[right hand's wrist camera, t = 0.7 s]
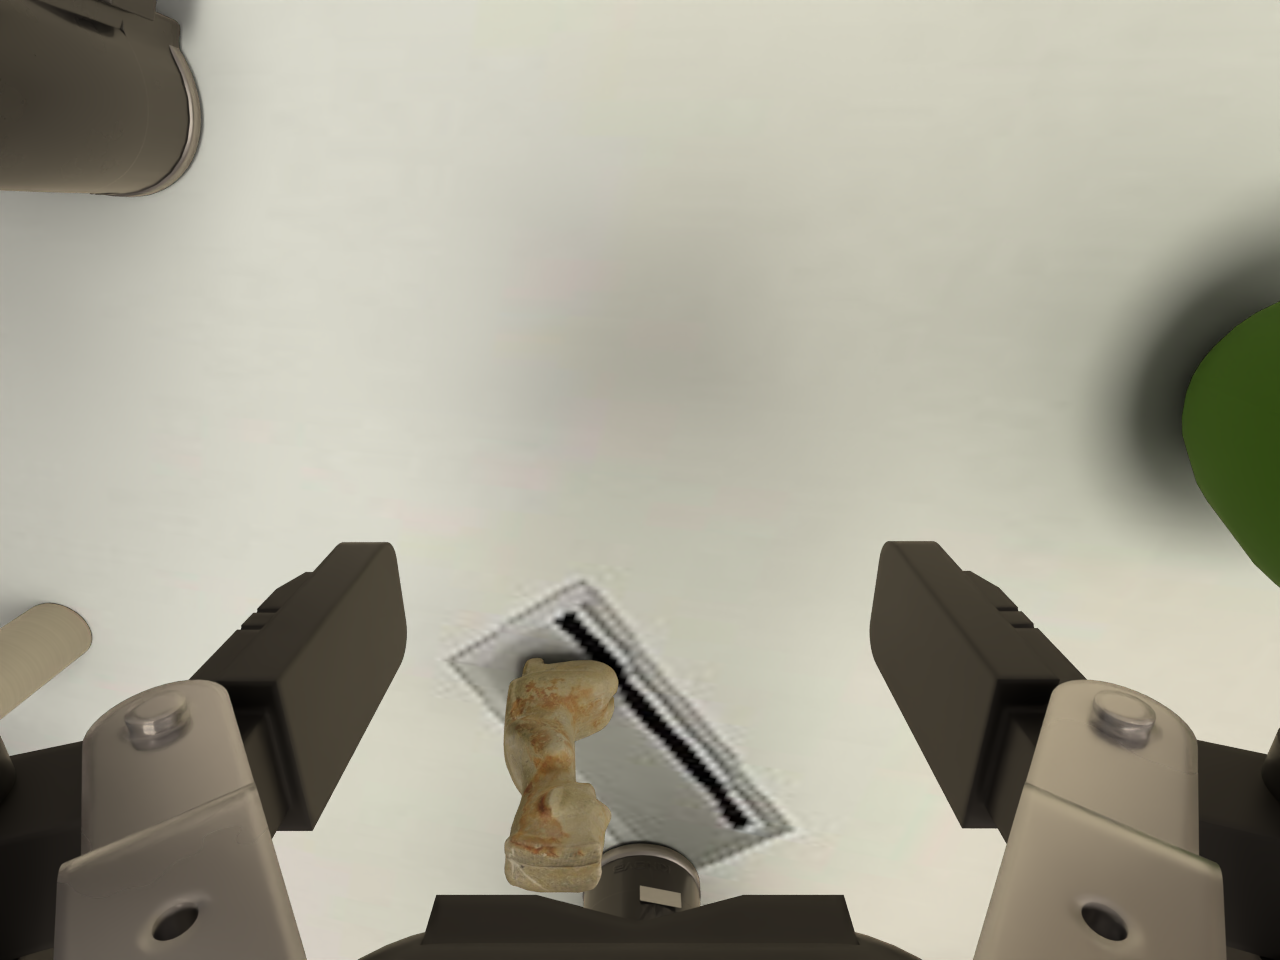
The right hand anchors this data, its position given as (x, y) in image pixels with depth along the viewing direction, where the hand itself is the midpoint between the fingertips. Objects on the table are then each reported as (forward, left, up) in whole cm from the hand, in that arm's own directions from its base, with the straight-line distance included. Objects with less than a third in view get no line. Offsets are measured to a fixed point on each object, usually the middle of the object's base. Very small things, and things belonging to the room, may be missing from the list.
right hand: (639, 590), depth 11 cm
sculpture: (-24, +5, -29) cm, 39 cm away
